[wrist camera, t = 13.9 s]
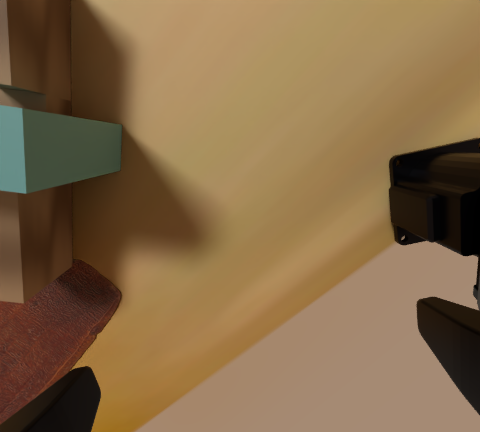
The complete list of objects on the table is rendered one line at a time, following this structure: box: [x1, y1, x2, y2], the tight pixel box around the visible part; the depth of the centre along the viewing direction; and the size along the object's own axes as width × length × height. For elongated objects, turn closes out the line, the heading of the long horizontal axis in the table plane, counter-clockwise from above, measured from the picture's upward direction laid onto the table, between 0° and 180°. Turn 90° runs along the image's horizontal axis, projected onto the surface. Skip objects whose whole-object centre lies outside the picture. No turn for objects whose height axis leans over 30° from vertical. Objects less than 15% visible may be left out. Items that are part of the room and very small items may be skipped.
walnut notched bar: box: [0, 0, 72, 303], centre depth 16 cm, size 18×2×5 cm, turn 172°
